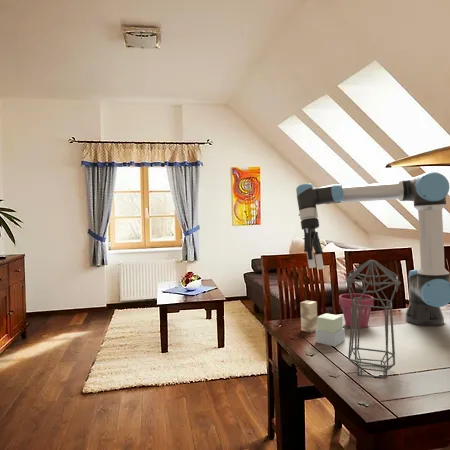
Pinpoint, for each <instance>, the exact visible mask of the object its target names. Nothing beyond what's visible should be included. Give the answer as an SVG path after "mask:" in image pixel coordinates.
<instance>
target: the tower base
mask: <svg viewBox="0 0 450 450" xmlns="http://www.w3.org/2000/svg"><path fill="white" fill-rule="evenodd" d="M345 331H346V330H345V328H343V329H341V330H339V331H337V332H335V333H330V332H326V331H321V330H317V329H316V331H315V343H319V344H321V345H326V346H331V347H336V345H337V346H339V345H340V344H342V343H344V342H345V341H346V339H345V336H346V334H345V333H346V332H345ZM343 341H344V342H343ZM341 342H342V343H341ZM338 344H339V345H338Z"/></svg>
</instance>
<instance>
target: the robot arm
mask: <svg viewBox="0 0 450 450" xmlns="http://www.w3.org/2000/svg"><path fill="white" fill-rule="evenodd" d="M449 191H450V183H449V180H448V178H447V177H446V176H444V174H442V173H440V172H436V171H427V172H424V173H422V174H419V175H416V176H413V177H409V178H403V179H399V180H398V181H396V182H385V183H371V184H359V185H358V184H357V185H345V186H344V185H342V184H341V183H339V184H338V183H337V184H334V183H333V184H328V185H325V186H319V187H314V185H313V184H312V183H302V184H299V185H297V187H296V191H295V192H296V200H297V206H298V217H299V219H300V220H301V221H300V226H301V230H303V233H304V235H303V236H304V237H303V238H304V240H303V241H304V245H303V246H304V250H303V252H304V253H306V258H307V265H308V269H313V268H315V269H316V270H324V269H325V267H324V261H323V254H324V251H323V249H322V245H321V240H320V237H319V232H318V231H316V229H318V228H320V221H319V219H318V217H319V215H318V210H317V209H318V208H317V206H319V205H330V204H341V203H343V204H344V203H357V202H358V203H360V202H371V201H372V202H373V201H374V202H375V201H376V202H377V201H387V200H388V201H389V200H398V201H399V202H409V201H410V202H413V207H414V208H415V209H416V210H417V214H418V215H417V216H418V232H419V237H418V238H419V252H420V253H419V254H420V259H419V260H420V268H419V269H412V270H409V271H408V297H409V304H408V307H407V310H406V312H405V321H406V322H408V323H410V324H414V325H420V326H428V327H429V326H432V327H434V326H441V325H444V323H445V317H444V315H443V312H442V309H441V308H442V307H445V306H447V305H449V304H450V272H449V271H448V270H447V269H446V267H445V265H446V264H445V248H444V247H445V244H444V224H443V223H444V222H443V209H444V208H445V207H446V206H447V196H448V194H449ZM314 252H315V253H314Z"/></svg>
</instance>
